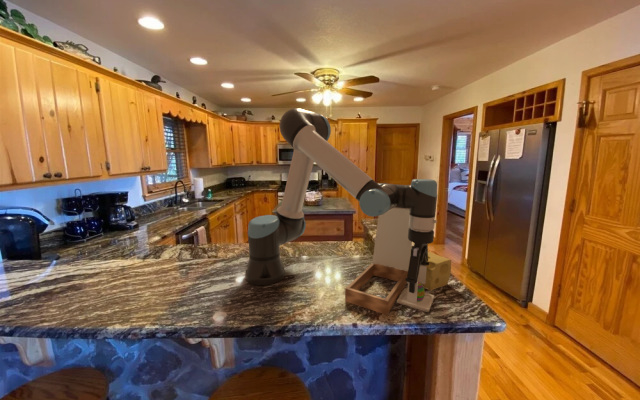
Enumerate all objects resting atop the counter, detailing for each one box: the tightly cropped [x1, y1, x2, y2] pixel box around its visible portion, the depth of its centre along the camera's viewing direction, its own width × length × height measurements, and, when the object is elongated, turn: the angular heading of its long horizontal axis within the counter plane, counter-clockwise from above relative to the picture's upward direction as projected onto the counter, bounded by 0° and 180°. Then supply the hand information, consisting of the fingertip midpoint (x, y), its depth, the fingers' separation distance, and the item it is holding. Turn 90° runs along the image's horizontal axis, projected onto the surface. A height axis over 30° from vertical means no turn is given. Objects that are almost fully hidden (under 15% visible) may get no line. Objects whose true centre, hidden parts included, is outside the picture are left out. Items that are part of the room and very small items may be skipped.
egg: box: [417, 282, 426, 302], centre depth 85 cm, size 5×5×6 cm
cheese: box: [421, 251, 452, 292], centre depth 98 cm, size 10×11×10 cm
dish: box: [396, 287, 435, 313], centre depth 85 cm, size 10×10×1 cm
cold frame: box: [344, 262, 408, 316], centre depth 92 cm, size 14×29×14 cm, turn 148°
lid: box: [371, 207, 413, 271], centre depth 102 cm, size 14×24×1 cm
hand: (416, 291), depth 85 cm, fingers open, 13 cm apart
